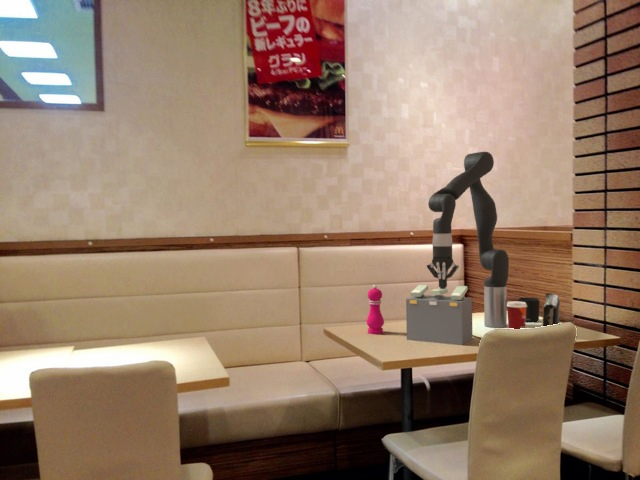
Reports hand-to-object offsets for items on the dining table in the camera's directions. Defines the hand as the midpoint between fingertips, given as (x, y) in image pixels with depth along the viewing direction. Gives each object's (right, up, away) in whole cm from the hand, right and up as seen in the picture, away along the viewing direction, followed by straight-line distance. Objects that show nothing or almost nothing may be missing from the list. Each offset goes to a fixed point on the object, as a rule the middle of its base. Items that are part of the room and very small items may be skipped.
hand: (442, 288), depth 228 cm
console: (-2, -20, -3) cm, 20 cm away
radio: (+45, -19, +4) cm, 49 cm away
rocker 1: (-9, -1, 0) cm, 9 cm away
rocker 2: (-2, -1, -4) cm, 4 cm away
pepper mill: (-25, -20, +12) cm, 34 cm away
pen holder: (+45, -18, +32) cm, 58 cm away
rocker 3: (+5, -1, -8) cm, 9 cm away
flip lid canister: (+28, -19, -4) cm, 34 cm away
